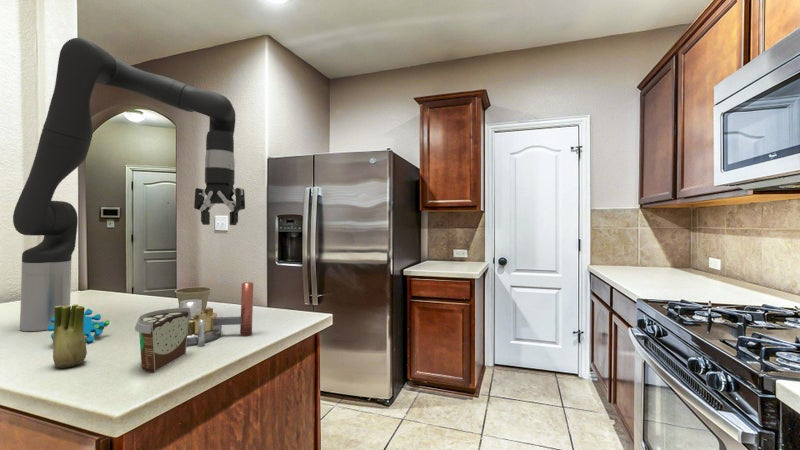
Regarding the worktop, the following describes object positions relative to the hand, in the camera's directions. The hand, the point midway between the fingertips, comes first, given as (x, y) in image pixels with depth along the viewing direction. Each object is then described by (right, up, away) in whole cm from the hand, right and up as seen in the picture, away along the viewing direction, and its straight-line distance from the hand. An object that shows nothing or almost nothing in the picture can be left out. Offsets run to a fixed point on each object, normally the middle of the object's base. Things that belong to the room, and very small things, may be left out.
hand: (219, 224), depth 100 cm
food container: (+1, -29, -28) cm, 40 cm away
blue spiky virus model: (-24, -28, -18) cm, 41 cm away
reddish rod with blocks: (+3, -28, -11) cm, 30 cm away
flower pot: (-10, -28, +4) cm, 30 cm away
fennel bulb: (-14, -28, -30) cm, 44 cm away
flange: (-1, -28, -12) cm, 31 cm away
